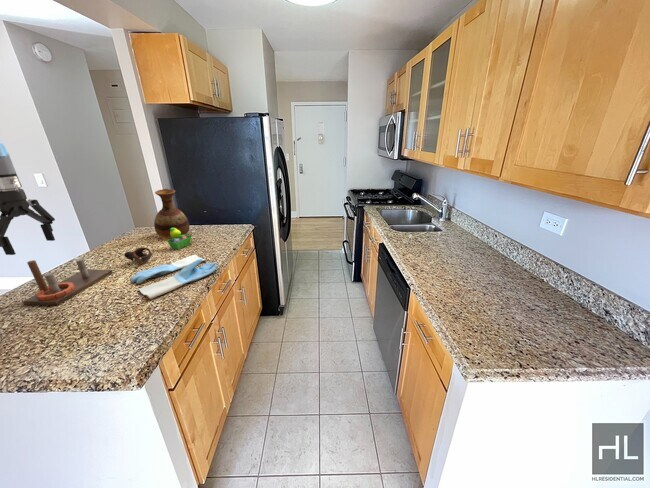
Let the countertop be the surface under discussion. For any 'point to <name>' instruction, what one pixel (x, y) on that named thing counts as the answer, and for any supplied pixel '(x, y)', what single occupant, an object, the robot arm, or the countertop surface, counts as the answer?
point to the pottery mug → (138, 255)
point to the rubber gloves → (171, 283)
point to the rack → (79, 280)
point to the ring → (43, 286)
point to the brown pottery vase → (169, 215)
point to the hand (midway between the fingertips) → (32, 247)
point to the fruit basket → (178, 239)
